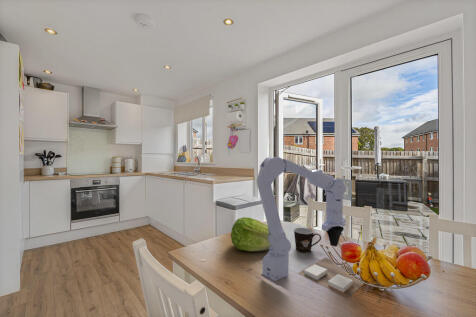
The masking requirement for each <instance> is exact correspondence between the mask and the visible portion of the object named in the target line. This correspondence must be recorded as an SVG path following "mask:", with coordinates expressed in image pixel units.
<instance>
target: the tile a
mask: <svg viewBox="0 0 476 317" xmlns="http://www.w3.org/2000/svg"><path fill="white" fill-rule="evenodd" d="M313 264H314V265H313ZM313 264H312V266H311V265H310V266H311V267H310V266H308V267H309V268H308V267H307V269H306V268H305V270H304V269H303V270H304V274H305V275H307V276H309V277H311V278H313V279H315V280H318V279H320V278H321V277H323V276H324V275H326V274H327V269H325V268H323V267H320V266H318V265H316V264H315V263H313Z"/></svg>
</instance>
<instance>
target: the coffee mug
mask: <svg viewBox="0 0 476 317" xmlns="http://www.w3.org/2000/svg"><path fill="white" fill-rule="evenodd" d="M293 232H294V242H295V249H296V251H297V252H298V253H303V254H307V253H311V252H312V247H313V246H315V245H317V244H318V243H319V242H320V241H321V239H322V236H321V234H319V233H316V232H315V233H314V230H312V229H311V228H307V227H296V228H294V229H293ZM315 236H318V237H319V239H318V240H317V241H315V242H314V243H313V240H314V237H315Z"/></svg>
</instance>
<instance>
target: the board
mask: <svg viewBox="0 0 476 317" xmlns="http://www.w3.org/2000/svg"><path fill="white" fill-rule="evenodd" d="M331 260H332V259H331V258H328V257H324V258H322V259H321V260H318V261H317V262H315V263H313V264H312V265H314V264H316V265H318V266H320V267H323V268H325V269H327V274H326V275H324V276H323V277H321V278H320V279H318V280H315V279H313V278H311V277H309V276H307V275H305V274H304V270H305V269H307V268H309V267H311V266H312V265H310V266H308V267H307V268H305V269H303V270H301V271H299V272H297V274H299V275H301V276H303V277H305V278H307V279H309V280H311V281H313V282H315V283H317V284H319V285H321V286H323V287H324V288H327V289H329V290H331V291H332V292H335V293H336V294H337V293H338V294H339V295H341V296H343V297H345V298H347V299H349V298H350V297H351V296H352V295H353V294H354V293H355V292H357V291H358V290H359V289H360V288H361V287H362V286H363V285H364V284H365V283H362V282H360V281H358V280H356V279H355V278H354V277H353V276H350V275H349V274H347V273H346V271H345V269H344V266H341V268H342V269H343V270H344V271H345V272H344V271H342V270H341V269H340V268H338V267H337V266H336V265H335V264H334V263H333V262H332V261H331ZM337 262H338V263H339V264H343V263H341V262H339V261H337ZM344 265H345V266H346V268H347V270H348V271H349V273H351V274H354V272H353V270H352V268H353V267H352V266H349V265H346V264H344ZM337 274H339V275H342V276H344V277H346V278H349V279H351V280H353V285H352V286H351V287H350V288H349V289H348V290H346V291H345V292H344V293H342V292H340V291H338V290H335V289H333V288H331V287H329V286H328V281H329V280H330V279H332V278H333V277H334V276H336V275H337Z"/></svg>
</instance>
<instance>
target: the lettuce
mask: <svg viewBox="0 0 476 317" xmlns="http://www.w3.org/2000/svg"><path fill="white" fill-rule="evenodd" d="M230 238H231V242H232V244H233V245H234V247H235V248H236V249H238V250H240V251H241V250H242V251H247V252H250V253H251V252H262V251H266V250H269V247H270V243H269V241H268V224H266V223H264V222H262V221H260V220H258V219H254V218H253V217H247V216H244V217H243V216H242V217H239V218H237V219H236V220H235V221H234V223H233V225H232V228H231V232H230Z"/></svg>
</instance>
